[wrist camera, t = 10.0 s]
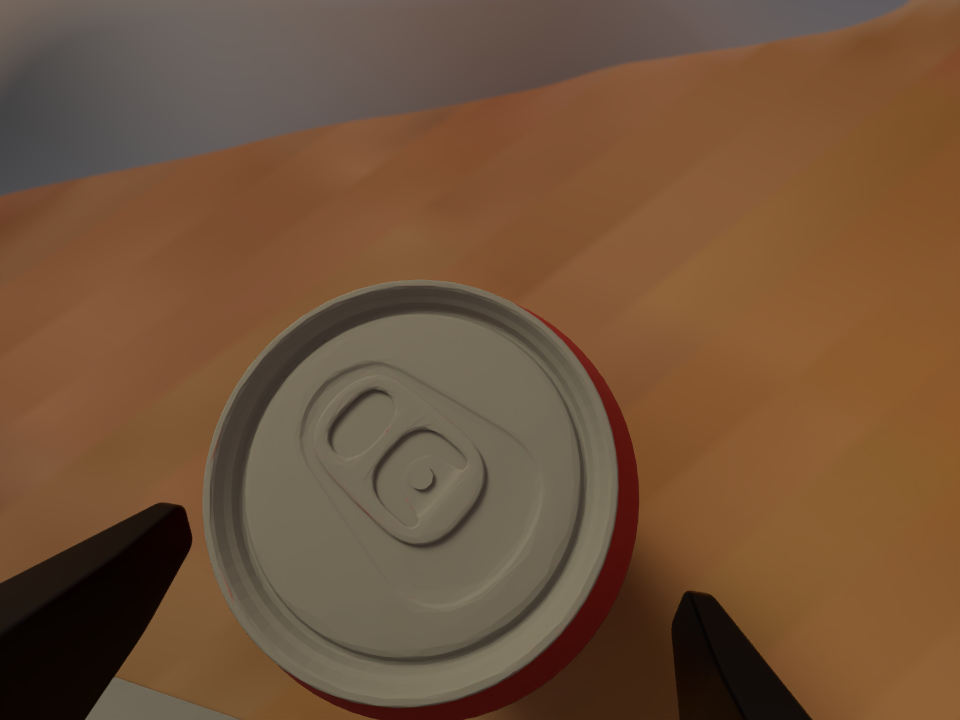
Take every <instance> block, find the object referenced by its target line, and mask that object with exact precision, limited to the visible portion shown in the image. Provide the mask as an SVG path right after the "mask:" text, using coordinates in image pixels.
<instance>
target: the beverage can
mask: <svg viewBox="0 0 960 720" xmlns="http://www.w3.org/2000/svg"><path fill="white" fill-rule="evenodd" d="M202 503H203V522H204V532H205V540H206V544H207V548H208V553H209V557H210V561H211V564H212V568H213V572H214V575H215V578H216V580H217V582H218V585H219V587H220V589H221V592H222V594H223V596H224V598H225V600H226V602H227V604H228V606H229V608H230V610H231V611H232V613H233V614H234V616H235V617H236V619H237V620H238V622H239V623H240V625H241V626H242V627H243V629H244V630H245V631H246V633H247V634H248V635H249V637H250V638H251V639H252V641H253V642H254V643H255V644H256V645H257V646H258V647H259V648H260V649H261V650H262V651H263V652H264V653H265V654H266V655H267V656H269V657H270V658H271V659H272V660H273V661H274V662H275V663H277V665H278V666H279V667H280V668H281V669H282V670H283V671H285V672H286V673H287V674H288V675H289V676H291V677H292V678H293V679H294V680H295V681H296V682H298V683H299V684H300V685H302V686H303V687H305V688H306V689H308V690H309V691H311V692H312V693H314V694H315V695H317V696H319V697H321V698H322V699H324V700H326V701H328V702H330V703H332V704H334V705H336V706H338V707H341V708H343V709H346V710H348V711H350V712H353V713H356V714H360V715H363V716H366V717H370V718H373V719H378V720H464V719H469V718H473V717H477V716H480V715H483V714H486V713H489V712H492V711H495V710H498V709H500V708H502V707H504V706H507V705H509V704H511V703H513V702H516V701H517V700H519V699H521V698H523V697H524V696H526V695H528V694H530V693H531V692H533V691H535V690H536V689H538V688H539V687H540V686H542V685H543V684H545V683H546V682H548V681H549V680H550V679H552V678H553V677H554V676H555V675H556V674H558V673H559V672H560V671H561V670H562V669H563V668H565V667H566V666H567V665H568V664H569V663H570V662H571V661H572V660H573V659H574V658H575V657H576V656H577V655H578V654H579V652H580V651H581V650H582V649H583V648H584V647H585V646H586V644H587V643H588V642H589V641H590V639H591V638H592V637H593V636H594V634H595V633H596V631H597V630H598V628H599V627H600V625H601V624H602V622H603V621H604V619H605V618H606V616H607V614H608V613H609V611H610V609H611V607H612V605H613V603H614V601H615V599H616V598H617V595H618V593H619V591H620V588H621V586H622V584H623V581H624V579H625V576H626V573H627V570H628V567H629V563H630V560H631V557H632V552H633V548H634V543H635V539H636V531H637V524H638V512H639V484H638V474H637V465H636V459H635V455H634V450H633V445H632V441H631V438H630V435H629V431H628V428H627V425H626V423H625V420H624V417H623V415H622V412H621V410H620V408H619V406H618V404H617V402H616V400H615V398H614V396H613V394H612V392H611V390H610V389H609V387H608V385H607V384H606V382H605V380H604V379H603V377H602V376H601V375H600V373H599V372H598V370H597V369H596V368H595V366H594V365H593V364H592V362H591V361H590V360H589V359H588V358H587V357H586V356H585V354H584V353H583V352H582V351H581V350H580V349H579V348H578V347H577V346H576V345H575V344H574V343H573V342H572V341H571V340H570V339H569V338H568V337H566V336H565V335H564V334H563V333H562V332H560V331H559V330H558V329H557V328H556V327H554V326H553V325H551V324H550V323H548V322H547V321H546V320H544V319H543V318H541V317H539V316H538V315H536V314H534V313H532V312H531V311H529V310H527V309H525V308H523V307H521V306H519V305H517V304H514V303H512V302H510V301H508V300H506V299H504V298H502V297H499V296H497V295H494V294H492V293H489V292H487V291H484V290H482V289H478V288H474V287H470V286H466V285H462V284H457V283H453V282H445V281H434V280H406V281H396V282H387V283H382V284H378V285H373V286H369V287H365V288H362V289H358V290H355V291H352V292H350V293H347V294H344V295H342V296H339V297H337V298H335V299H333V300H330V301H328V302H326V303H324V304H322V305H321V306H319V307H317V308H315V309H314V310H312V311H310V312H309V313H307V314H306V315H304V316H302V317H301V318H299V319H298V320H296V321H295V322H294V323H293V324H291V325H290V326H289V327H287V328H286V329H285V330H284V331H283V332H282V333H280V334H279V335H278V336H277V337H276V338H275V339H274V340H272V341H271V342H270V344H269V345H268V346H267V347H266V348H265V349H264V350H263V351H262V352H261V353H260V354H259V355H258V357H257V358H256V359H255V360H254V361H253V363H252V364H251V365H250V366H249V367H248V369H247V370H246V372H245V373H244V375H243V376H242V378H241V379H240V380H239V382H238V384H237V385H236V387H235V389H234V390H233V392H232V394H231V395H230V397H229V399H228V401H227V403H226V405H225V407H224V409H223V412H222V414H221V416H220V419H219V421H218V424H217V426H216V429H215V432H214V435H213V438H212V442H211V445H210V449H209V453H208V458H207V462H206V468H205V475H204V485H203V500H202Z"/></svg>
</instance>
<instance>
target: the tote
mask: <svg viewBox="0 0 960 720" xmlns="http://www.w3.org/2000/svg"><path fill="white" fill-rule="evenodd" d="M85 720H240V719H237V718H234V717H231V716H228V715H225V714H222V713H219V712H216V711H213V710H210V709H207V708H204V707H201V706H198V705H195V704H192V703H190V702H187V701H184V700H181V699H178V698H175V697H172V696H169V695H166V694H163V693H160V692H157V691H154V690H151V689H148V688H145V687H142V686H140V685H137V684H134V683H131V682H128V681H125V680H122V679H119V678H116V677H114V678H113V679H112V681H111V682H110V684H109V685H108V687H107V688H106V690H105V691H104V693H103V694H102V695H101V697H100V698H99V700H98V701H97V703H96V704H95V706H94V707H93V709H92V710H91V712H90V713H89V715H88V716H87V718H86V719H85Z"/></svg>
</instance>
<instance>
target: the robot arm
mask: <svg viewBox="0 0 960 720" xmlns="http://www.w3.org/2000/svg"><path fill="white" fill-rule="evenodd" d="M191 544H192V533H191V529H190V525H189V521H188V517H187V514H186V510H185V508H184V507H183V506H181V505H177V504H171V503H158V504H155V505H153V506H151V507H149V508H147V509H145V510H143V511H141V512H139V513H137V514H135V515H133V516H131V517H129V518H127V519H126V520H124V521H122V522H120V523H118V524H116V525H114V526H112V527H110V528H108V529H106V530H104V531H102V532H100V533H98V534H96V535H94V536H92V537H90V538H88V539H86V540H84V541H82V542H80V543H79V544H77V545H75V546H73V547H71V548H69V549H67V550H65V551H63V552H61V553H59V554H57V555H55V556H53V557H51V558H49V559H47V560H45V561H43V562H41V563H39V564H37V565H35V566H33V567H31V568H30V569H28V570H26V571H24V572H22V573H20V574H18V575H16V576H14V577H12V578H10V579H8V580H6V581H4V582H2V583H0V720H85V719H86V718H87V716H88V715H89V713H90V712H91V710H92V709H93V707H94V706H95V704H96V703H97V701H98V700H99V698H100V697H101V695H102V694H103V693H104V691H105V690H106V688H107V687H108V685H109V684H110V682H111V681H112V679H113V678H114V676H115V675H116V673H117V672H118V670H119V669H120V667H121V666H122V664H123V663H124V661H125V660H126V658H127V657H128V656H129V654H130V653H131V651H132V650H133V648H134V647H135V645H136V644H137V642H138V640H139V639H140V637H141V636H142V634H143V633H144V631H145V630H146V628H147V626H148V624H149V623H150V621H151V619H152V618H153V616H154V614H155V612H156V610H157V609H158V607H159V605H160V603H161V601H162V599H163V598H164V596H165V594H166V592H167V590H168V589H169V587H170V585H171V583H172V581H173V580H174V578H175V576H176V574H177V572H178V570H179V569H180V567H181V565H182V563H183V561H184V560H185V558H186V556H187V554H188V552H189V550H190V548H191ZM672 644H673V654H674V665H675V675H676V686H677V696H678V707H679V717H680V720H812V719H811V717H810V716H809V715H808V714H807V712H806V711H805V710H804V709H803V707H802V706H801V705H800V704H799V702H798V701H797V700H796V699H795V697H794V696H793V695H792V694H791V692H790V691H789V690H788V689H787V687H786V686H785V685H784V684H783V682H782V681H781V680H780V679H779V677H778V676H777V675H776V674H775V672H774V671H773V670H772V669H771V667H770V666H769V665H768V664H767V662H766V661H765V660H764V659H763V657H762V656H761V655H760V654H759V652H758V651H757V650H756V649H755V647H754V646H753V645H752V644H751V642H750V641H749V640H748V639H747V637H746V636H745V635H744V634H743V632H742V631H741V630H740V629H739V627H738V626H737V625H736V624H735V622H734V621H733V620H732V619H731V617H730V616H729V615H728V614H727V612H726V611H725V610H724V609H723V607H722V606H721V605H720V604H719V602H718V601H717V600H716V599H715V598H714V597H713V596H712V595H710V594H707V593H702V592H696V591H686V592H685V593H684V595H683V597H682V599H681V602H680V604H679V607H678V609H677V611H676V614H675V616H674V619H673V622H672Z"/></svg>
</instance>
